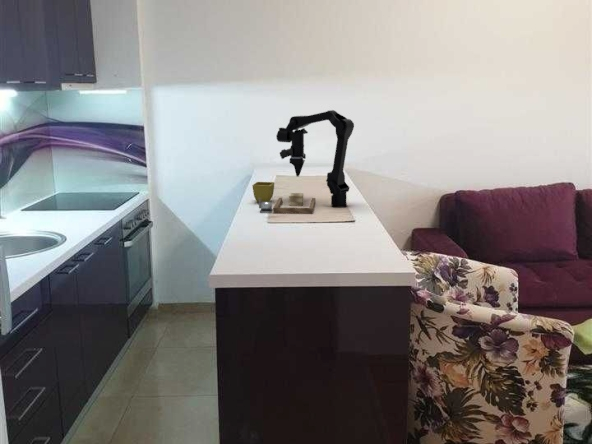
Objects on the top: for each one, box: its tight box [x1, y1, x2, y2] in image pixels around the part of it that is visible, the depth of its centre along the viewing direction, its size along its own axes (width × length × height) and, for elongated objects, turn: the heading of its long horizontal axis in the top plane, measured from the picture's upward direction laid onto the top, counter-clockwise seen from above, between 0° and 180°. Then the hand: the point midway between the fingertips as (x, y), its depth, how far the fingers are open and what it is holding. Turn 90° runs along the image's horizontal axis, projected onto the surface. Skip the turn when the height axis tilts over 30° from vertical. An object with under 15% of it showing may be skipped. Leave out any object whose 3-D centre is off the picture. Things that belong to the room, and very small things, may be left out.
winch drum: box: [258, 198, 273, 214], centre depth 275 cm, size 6×5×6 cm
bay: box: [272, 197, 316, 215], centre depth 283 cm, size 17×23×2 cm
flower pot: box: [252, 181, 275, 204], centre depth 295 cm, size 9×9×9 cm
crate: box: [288, 192, 305, 207], centre depth 290 cm, size 6×6×5 cm
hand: (297, 175), depth 296 cm, fingers open, 3 cm apart
